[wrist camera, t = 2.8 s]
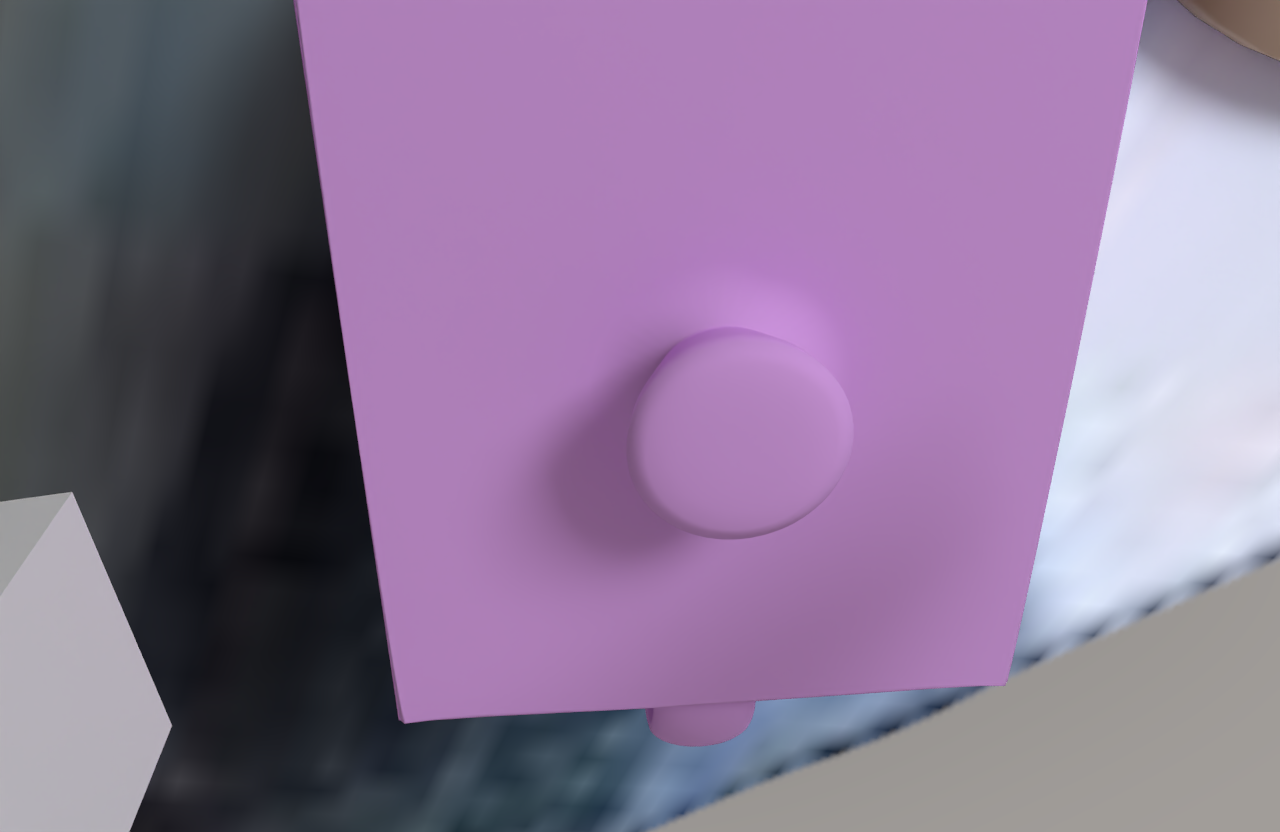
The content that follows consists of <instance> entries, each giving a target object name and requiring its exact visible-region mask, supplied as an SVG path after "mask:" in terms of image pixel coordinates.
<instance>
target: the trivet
mask: <svg viewBox="0 0 1280 832" xmlns="http://www.w3.org/2000/svg"><path fill="white" fill-rule="evenodd" d="M1178 1H1179V2H1180V3H1181V4H1182V5H1183V6H1184V7H1185V8H1186V9H1188V10H1189V11H1190V12H1191V13H1192V14H1193V15H1194V16H1195V17H1197V18H1198V19H1200V20H1202V21H1203V22H1205V23H1206V24H1208V25H1210V26H1211V27H1213V28H1214V29H1216V30H1218V31H1219V32H1221V33H1222V34H1224V35H1225V36H1227V37H1229V38H1230V39H1232V40H1233V41H1235V42H1237V43H1238V44H1240V45H1242V46H1244V47H1247V48H1249V49H1252V50H1254V51H1257V52H1259V53H1261V54H1264V55H1266V56H1269V57H1271V58H1274V59H1276V60H1278V61H1280V0H1178Z"/></svg>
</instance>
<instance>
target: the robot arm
mask: <svg viewBox="0 0 1280 832" xmlns="http://www.w3.org/2000/svg"><path fill="white" fill-rule="evenodd" d="M171 727H172V725H171V722H170V720H169V718H168V715H167V713H166V711H165V708H164V706H163V704H162V701H161V699H160V697H159V694H158V692H157V690H156V687H155V685H154V682H153V680H152V678H151V675H150V673H149V671H148V668H147V666H146V664H145V661H144V659H143V657H142V654H141V652H140V650H139V647H138V645H137V643H136V640H135V638H134V636H133V633H132V631H131V629H130V626H129V624H128V622H127V619H126V617H125V615H124V612H123V610H122V608H121V605H120V603H119V601H118V598H117V596H116V594H115V591H114V589H113V587H112V584H111V582H110V580H109V577H108V575H107V573H106V570H105V568H104V565H103V563H102V561H101V558H100V556H99V554H98V551H97V549H96V547H95V544H94V542H93V540H92V537H91V535H90V533H89V530H88V528H87V526H86V523H85V521H84V519H83V516H82V514H81V512H80V509H79V507H78V505H77V502H76V500H75V498H74V495H73V493H72V492H68V493H61V494H54V495H46V496H39V497H32V498H25V499H18V500H10V501H3V502H0V832H129V831H130V829H131V826H132V824H133V821H134V819H135V816H136V814H137V811H138V809H139V806H140V804H141V801H142V799H143V796H144V794H145V791H146V789H147V786H148V784H149V781H150V779H151V776H152V774H153V772H154V769H155V767H156V764H157V762H158V759H159V757H160V754H161V752H162V749H163V747H164V744H165V742H166V739H167V737H168V734H169V732H170V729H171Z"/></svg>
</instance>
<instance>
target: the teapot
mask: <svg viewBox="0 0 1280 832" xmlns="http://www.w3.org/2000/svg"><path fill="white" fill-rule="evenodd" d="M293 1H294V7H295V14H296V21H297V28H298V35H299V42H300V49H301V55H302V62H303V69H304V76H305V83H306V90H307V97H308V103H309V110H310V117H311V124H312V131H313V138H314V144H315V151H316V158H317V165H318V172H319V179H320V186H321V192H322V199H323V206H324V213H325V220H326V227H327V233H328V240H329V247H330V254H331V261H332V268H333V274H334V281H335V288H336V295H337V302H338V309H339V315H340V322H341V329H342V336H343V343H344V350H345V357H346V363H347V370H348V377H349V384H350V391H351V398H352V404H353V411H354V418H355V425H356V432H357V439H358V445H359V452H360V459H361V466H362V473H363V480H364V486H365V493H366V500H367V507H368V514H369V521H370V527H371V534H372V541H373V548H374V555H375V562H376V568H377V575H378V582H379V589H380V596H381V603H382V609H383V616H384V623H385V630H386V637H387V643H388V650H389V657H390V664H391V671H392V678H393V684H394V691H395V698H396V705H397V712H398V718H399V720H401V721H402V722H403V723H404V724H406V723H414V722H422V721H430V720H443V719H458V718H473V717H489V716H508V715H527V714H546V713H565V712H584V711H604V710H623V709H643V708H645V709H646V716H647V721H648V725H649V728H650V730H651V732H652V733H653V734H654V735H655V736H656V737H658V738H659V739H661V740H663V741H666V742H668V743H671V744H676V745H681V746H707V745H714V744H718V743H722V742H725V741H728V740H730V739H732V738H734V737H736V736H738V735H739V734H741V733H742V732H743V731H744V730H745V729H746V728H747V727H748V725H749V723H750V721H751V719H752V717H753V713H754V709H755V701H762V700H777V699H791V698H806V697H821V696H835V695H850V694H865V693H878V692H892V691H906V690H919V689H933V688H951V687H968V686H1005V685H1006V682H1007V681H1008V676H1009V671H1010V667H1011V663H1012V659H1013V655H1014V651H1015V646H1016V642H1017V638H1018V633H1019V629H1020V624H1021V620H1022V615H1023V611H1024V606H1025V602H1026V597H1027V592H1028V588H1029V583H1030V578H1031V574H1032V569H1033V564H1034V560H1035V555H1036V550H1037V546H1038V541H1039V536H1040V532H1041V527H1042V522H1043V517H1044V513H1045V508H1046V503H1047V499H1048V494H1049V489H1050V484H1051V480H1052V475H1053V470H1054V465H1055V461H1056V456H1057V451H1058V446H1059V442H1060V437H1061V432H1062V427H1063V422H1064V418H1065V413H1066V408H1067V403H1068V398H1069V394H1070V389H1071V384H1072V379H1073V374H1074V370H1075V365H1076V360H1077V355H1078V350H1079V345H1080V340H1081V335H1082V330H1083V325H1084V320H1085V315H1086V310H1087V305H1088V300H1089V295H1090V290H1091V285H1092V280H1093V275H1094V270H1095V265H1096V260H1097V255H1098V250H1099V245H1100V240H1101V235H1102V230H1103V225H1104V220H1105V215H1106V210H1107V205H1108V200H1109V195H1110V190H1111V185H1112V180H1113V175H1114V170H1115V165H1116V160H1117V155H1118V150H1119V145H1120V140H1121V135H1122V130H1123V124H1124V119H1125V114H1126V109H1127V104H1128V99H1129V94H1130V89H1131V84H1132V79H1133V73H1134V68H1135V63H1136V58H1137V53H1138V47H1139V42H1140V37H1141V32H1142V26H1143V21H1144V16H1145V11H1146V5H1147V0H293Z"/></svg>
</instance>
